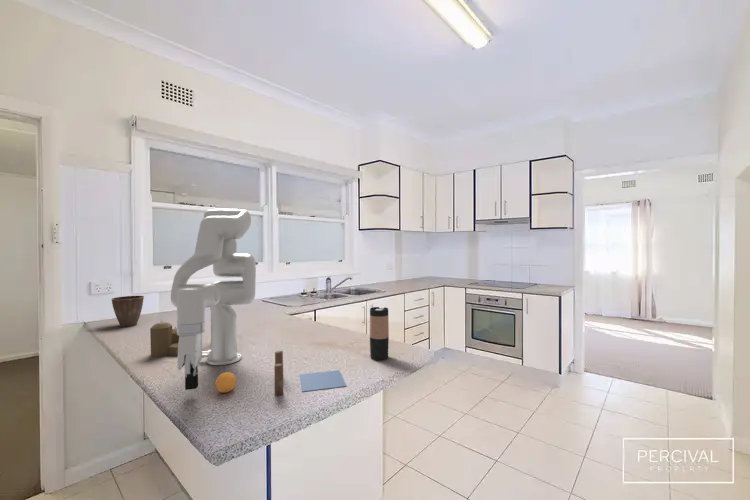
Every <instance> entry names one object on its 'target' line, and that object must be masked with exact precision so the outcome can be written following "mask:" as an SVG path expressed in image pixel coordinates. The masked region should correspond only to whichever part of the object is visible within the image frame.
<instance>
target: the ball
mask: <svg viewBox="0 0 750 500" xmlns="http://www.w3.org/2000/svg"><path fill="white" fill-rule="evenodd" d="M236 384H237V377H236V375H235V374H234V373H232V372H231V371H226V372H225V371H224V372H222V373H221V374H219V375H218V376H217V378H216V379H215V388H216V390H218V392H220V393H222V394H223V393H229V392H231V391H232V390H234V388H235V387H236Z"/></svg>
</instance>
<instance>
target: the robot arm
mask: <svg viewBox="0 0 750 500" xmlns="http://www.w3.org/2000/svg"><path fill="white" fill-rule="evenodd" d="M251 224H252V217H251V214H250V212H249V211H248V210H246V209H240V208H239V209H238V208H214V209H213V208H212V209H208V210H206V211H205V212H204V213H203V218H202V219H201V221H200V224H199V226H198V227H199V228H198V232H197V237H196V244H195V248H194V253H193V254H192V256H190V257H189V258H188V259H187V260H186V261H184V262H183V263H182V265H181V266H180V267H179V268H178V269H177V270H176V273H175V274H174V277H173V279H172V280H173V281H172V285H171V290H170V302H171V304H172V305H173V306H174V307H176V328H177V335H179V343H178V356H177V366H176V367H177V370H181V369H182V368H184V379H185V380H184V384H185V385H184V387H185V390H186V391H188V390H197V388H198V387H199V372H198V371H199V364H200V363H201V361H202V359H203V358H207V359H206V364H208V365H211V366H224V365H225V366H226V365H230V364H234V363H236V362H237V363H238V361H241V359H242V354H241V353H239V352H238V316H237V313H236V311H235V309H234V307H232V306H235V305H237V306H238V305H250V304H252V303H253V302H254V301H255V297H256V275H257V274H256V271H257V270H256V269H257V264H256V260H255V257H254V255H252V254H250V253H238V252H237V249H238V246H237V245H238V243H237V240H240V239H242V238H243V237H244V236H245V234H246V233H247V232H248V230H249V229H250V227H251ZM209 266H212V270H213V274H214V275H215V276H216V277H219V278H241V279H242V280H217V281H215V282H212V283H203V284H202V283H201V284H200V283H198V284H197V283H194V284H193V283H192V284H191V283H190V284H189V283H188V281H189V279H190V277H191V276H193V275H194V274H195V273H197V272H198V271H200V270H202V269H204V268H207V267H209ZM187 283H188V284H187ZM206 308H209V310H210V311H209V312H210V313H209V314H210V349H208V350H207V351H205V350H204V351H203V334H204V333H205V332H206Z"/></svg>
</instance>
